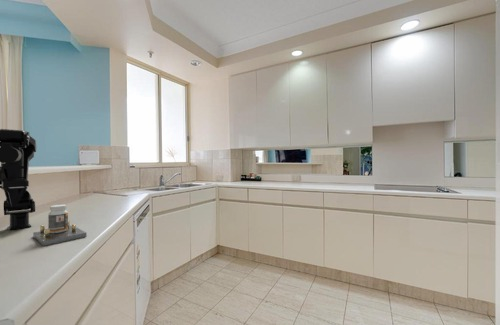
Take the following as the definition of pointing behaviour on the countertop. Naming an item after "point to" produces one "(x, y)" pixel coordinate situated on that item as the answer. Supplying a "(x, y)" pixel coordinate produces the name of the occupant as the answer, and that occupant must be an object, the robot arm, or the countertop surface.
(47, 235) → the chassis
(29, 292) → the countertop surface
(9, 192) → the robot arm
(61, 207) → the pill bottle
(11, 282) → the countertop surface
